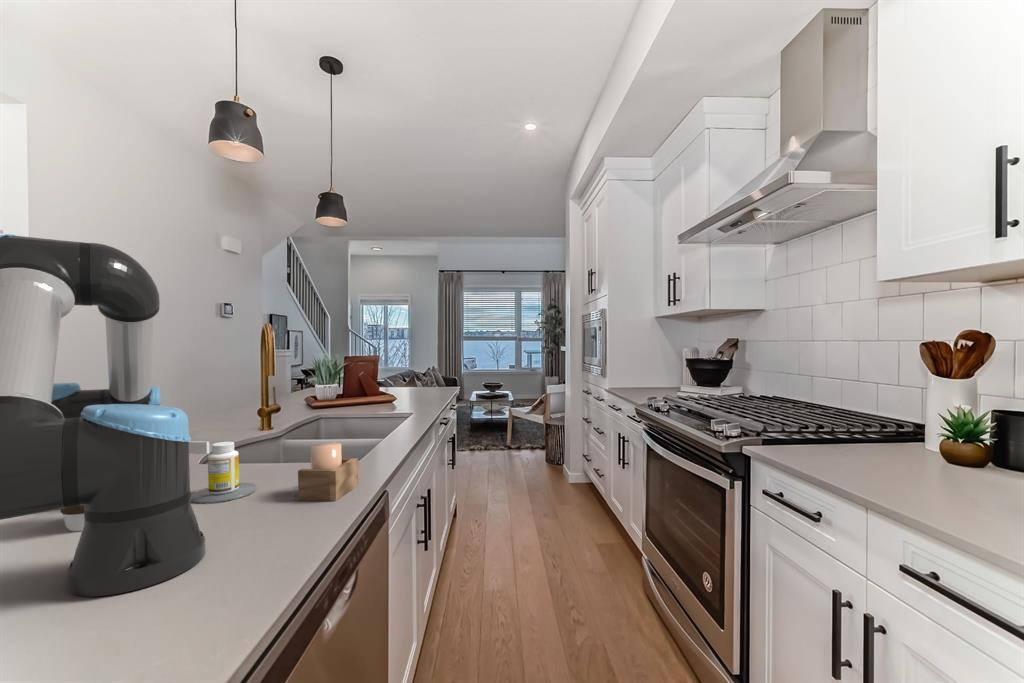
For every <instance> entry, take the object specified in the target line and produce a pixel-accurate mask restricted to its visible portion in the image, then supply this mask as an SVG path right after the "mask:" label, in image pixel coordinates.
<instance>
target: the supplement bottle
mask: <svg viewBox="0 0 1024 683" xmlns="http://www.w3.org/2000/svg"><path fill="white" fill-rule="evenodd" d="M211 452H212V453H209V454H208V456H207V477H208V478H207V479H208V481H207V484H208V487H207V488H209V493H210V494H213V495H221V494H227V493H231V492H234V491H236V490H237V489H238V488H239V483H240V458H239V457H240V456H239V455H240V454H239V451H237V450H235V442H234V441H221V442H216V443H213V444H212V445H211Z"/></svg>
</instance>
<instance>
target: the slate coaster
mask: <svg viewBox="0 0 1024 683" xmlns="http://www.w3.org/2000/svg"><path fill="white" fill-rule="evenodd" d="M256 489H257V490H258V485H257V484H255V483H252V482H239V488H238V489H237V490H236V491H234V492H231V493H227V494H221V495H213V494H210V493H209V487H206V488H203V489H200V490H197V491H195V492H193V493H191V494H190V500H191V501H192V502H191V501H190V502H191V503H193V502H195V503H194V504H199V503H210V504H216V503H215V502H220V503H224V502H223V501H226V502H229V501H228V500H231V501H233V500H232V499H235V500H237V499H236V498H239V499H241V498H240V497H242V498H244V496H245V497H247V496H246V495H248V496H249V494H250V495H251V493H252V494H253V492H254V491H255V490H256ZM257 490H256V491H257ZM256 491H255V492H256ZM255 492H254V493H255Z"/></svg>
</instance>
